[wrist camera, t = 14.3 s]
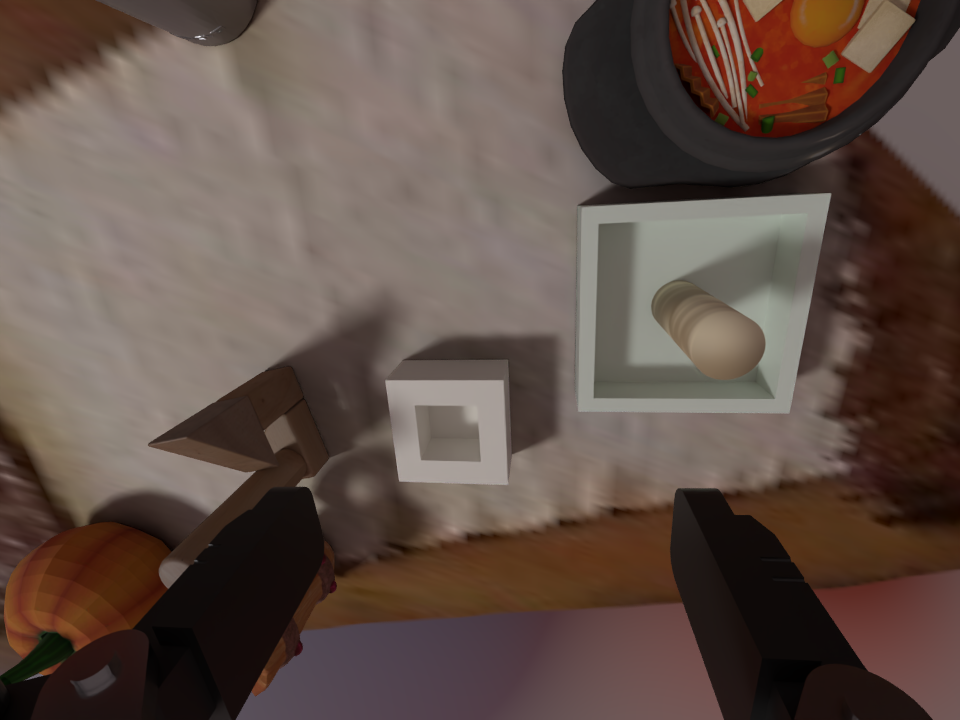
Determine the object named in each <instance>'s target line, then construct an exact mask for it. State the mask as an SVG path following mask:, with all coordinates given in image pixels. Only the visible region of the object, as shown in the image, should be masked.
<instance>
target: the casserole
mask: <svg viewBox="0 0 960 720" xmlns="http://www.w3.org/2000/svg"><path fill="white" fill-rule="evenodd" d="M959 28H960V0H596V1H595V2H594V3H593V4H592V5H591V7H590V8H589V9H588V10H587V11H586V12H585V13H584V14H583V15H582V16H581V17H580V18H579V19H578V20H577V21H576V22H575V25H574V27H573V29H572V32H571V34H570V36H569V39H568V41H567V43H566V46H565V53H564V62H563V70H562V74H563V89H564V100H565V104H566V109H567V113H568V117H569V121H570V125H571V128H572V130H573V132H574V134H575V136H576V138H577V140H578V142H579V145H580V147H581V149H582V151H583V152H584V153H585V155H586V156H587V157H588V159H589V160H590V162H591V163H592V164H593V166H594V167H595V168H596V169H597V170H598V171H599V172H600V173H601V174H602V175H604V176H605V177H606V178H607V179H608V180H609V181H611V182H612V183H615V184H618V185H621V186H624V187H627V188H630V189H632V188H641V187H650V186H660V185H669V184H678V183H681V184H694V185H706V186H719V187H738V186H746V185H753V184H760V183H763V182H766V181H769V180H772V179H775V178H778V177H782V176H785V175H787V174H789V173H791V172H793V171H795V170H797V169H799V168H801V167H803V166H805V165H807V164H809V163H810V162H812V161H814V160H817V159H820V158H822V157H824V156H826V155H827V154H829V153H831V152H833V151H835V150H837V149H839V148H841V147H843V146H845V145H847V144H849V143H850V142H851V141H853V140H854V139H855V138H857V137H858V136H859V135H861V134H862V133H864V132H865V131H866V130H868V129H869V128H870V127H872V126H873V125H875V124H876V123H877V122H878V121H879V120H880V119H881V118H882V117H883V116H884V115H885V114H886V113H887V112H888V111H889V110H890V109H891V108H892V107H893V106H894V105H895V104H896V103H897V102H898V101H899V100H900V99H901V98H902V97H903V96H904V95H905V93H906V92H907V91H908V89H909V88H910V87H911V85H912V84H913V83H914V81H915V80H916V79H917V77H918V76H919V75H920V74H921V72H922V71H923V70H924V68H925V67H926V65H927V63H928V62H929V61H930V60H931V59H932V58H934V57H935V56H936V55H937V54H939V53H940V52H941V51H942V50H943V49H945V47H946V46H947V45H948V43H949V42H950V40H951V39H952V37H953V36H954V35H955V33H956V32H957V31H958V29H959Z"/></svg>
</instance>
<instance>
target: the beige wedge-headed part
mask: <svg viewBox="0 0 960 720" xmlns="http://www.w3.org/2000/svg"><path fill="white" fill-rule="evenodd" d="M302 398H303V393H302V391H301V388H300V386H299V384H298V381H297V379H296V376H295V374H294V372H293V369H292V368H291V367H283V368H279V369H274V370H270V371H265V372H262V373H260V374H259V375H257V376H255V377H254V378H252V379H251V380H249V381H247V382H246V383H244V384H243V385H241V386H239V387H238V388H236V389H235V390H233V391H231V392H230V393H228V394H227V395H225V396H223V397H222V398H220V399H219V400H217V401H216V402H215V403H212V404H211V405H209V406H207V407H206V408H204V409H203V410H201V411H199V412H198V413H196V414H195V415H193V416H191V417H190V418H188V419H187V420H185V421H183V422H182V423H180V424H179V425H177V426H175V427H174V428H172V429H171V430H169V431H167V432H166V433H164V434H163V435H161V436H159V437H158V438H156V439H155V440H153V441H151V442H150V443H149V444H148V446H149V447H153V448H157V449H161V450H164V451H168V452H172V453H176V454H179V455H183V456H187V457H190V458H194V459H198V460H202V461H205V462H209V463H213V464H217V465H220V466H224V467H228V468H231V469H235V470H239V471H243V472H252V471H256V472H255V473H254V474H253V475H252V476H251V477H250V478H249V479H247V480H246V481H245V482H244V483H243V484H242V485H241V486H240V487H239V488H238V489H237V490H236V491H235V492H234V493H233V494H232V495H231V496H230V497H229V498H228V499H227V500H226V501H224V502H223V503H222V504H221V505H220V506H219V507H218V508H217V509H216V510H215V511H214V512H213V513H212V514H211V515H210V516H209V517H208V518H207V519H206V520H205V521H204V522H202V523H201V524H200V525H199V526H198V527H197V528H196V529H195V530H194V531H193V532H192V533H191V534H190V535H189V536H188V537H187V538H186V539H185V540H184V541H183V542H182V543H181V544H179V545H178V546H177V547H176V548H175V549H174V550H173V551H172V552H171V553H170V554H169V555H168V556H167V557H166V558H165V559H164V560H163V561H162V563H161V565H160V568H159V576H160V578H161V581H162V582H163V584H164V585H165V586H166V587H167V588H168V589H169V588H170V587H171V585H172V584H173V583H174V582H175V581H176V580H177V579H178V578H179V577H180V575H181V574H182V573H183V572H184V571H185V570H186V569H187V568H188V567H189V565H190V564H192V565H193V564H194V560H195V559H196V558H197V557H198V555H199V554H200V553H201V552H202V551H203V550H204V549H205V548H208V546H209V545H208V544H209V543H210V542H211V541H212V540H213V539H214V538H215V537H216V535H217V534H218V533H219V532H220V531H221V530H222V529H223V528H224V527H225V525H227V524H228V523H230V522H231V521H233V520H234V519H235V518H237V517H238V516H240V515H241V514H243V513H244V512H246V511H247V510H252V509H253V508H254V507H255V505H256V504H257V503H258V502H259V501H260V500H261V498H262V497H263V496H264V495H265V494H266V493H267V492H268V491H269V490H270V489H271V488H273V487H296V485H297V484H298V483H299V482H300V481H301V479H304V478H310V477H314V476H315V475H316V474H317V473H318V471H319V470H320V469H321V468H322V467H323V465H324V464H325V463H326V462H327V460H328V459H329V456H328V454H327V451H326V449H325V446H324V444H323V442H322V439H321V437H320V434H319V432H318V430H317V427H316V425H315V422H314V420H313V418H312V415H311V413H310V411H309V408H308V406H307V403H306V401H305V400H304V399H302ZM265 429H266V430H265ZM264 430H265V432H264Z"/></svg>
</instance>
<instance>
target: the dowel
mask: <svg viewBox="0 0 960 720" xmlns="http://www.w3.org/2000/svg"><path fill="white" fill-rule="evenodd" d="M651 311H652V315H653V317H654V319H655V320H656V321H657V322H658V323H659V325H660V326H661V327H662V328H663V329H664V330H665V331H666V333H667V334H668V335H669V336H670V337H671V338H672V339H673V341H674V342H675V343H676V344H677V345H678V346H679V347H680V348H681V350H682V351H683V352H684V353H685V354H686V355H687V356H688V358H689V359H690V360H691V361H692V362H693V363H694V364H695V366H696V367H697V368H698V369H699V370H700V371H701V372H702V373H703V374H705V375H706V376H708V377H711V378H714V379H719V380H730V379H735V378H738V377H741V376H743V375H745V374H747V373H748V372H750V371H751V370H752V369H753V368H755V367H756V365H757V364H758V363H759V362H760V360H761V358H762V357H763V354H764V351H765V346H766V341H765V335H764V333H763V331H762V329H761V327H760V326H759V325H758V324H757V323H756V322H754V321H753V320H751V319H750V318H748V317H746V316H745V315H743V314H742V313H740V312H738V311H737V310H735V309H733V308H732V307H730V306H728V305H727V304H725V303H724V302H722V301H720V300H719V299H717V298H715V297H714V296H712V295H710V294H709V293H707V292H706V291H704V290H702V289H701V288H699V287H697V286H696V285H694V284H693V283H690V282H688V281H683V280H677V281H672V282H669V283H667V284H665V285H663V286H662V287H661V288H660V289H659V290H658V291H657V292H656V293H655V295H654V297H653V299H652V303H651Z"/></svg>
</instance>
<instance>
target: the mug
mask: <svg viewBox="0 0 960 720" xmlns="http://www.w3.org/2000/svg"><path fill="white" fill-rule="evenodd" d="M334 569H335V559H334V552H333V550H332V548H331V546H330V545H329V544H328V543H327V542H326V541H325V540H324V556H323V561H322V564H321V566H320V569H319V571H318V572H317V574H316V576H315V578H314V580H313V581H312V583H311V585H310V587H309V589H308V590H307V592H306V594H305V596H304V598H303V599H302V601H301V603H300V605H299V607H298V608H297V610H296V612H295V614H294V616H293V617H292V619H291V621H290V623H289V625H288V626H287V628H286V630H285V632H284V634H283V635H282V637H281V639H280V641H279V643H278V644H277V646H276V648H275V650H274V652H273V653H272V655H271V657H270V659H269V661H268V662H267V664H266V666H265V668H264V670H263V671H262V673H261V675H260V677H259V679H258V680H257V682H256V684H255V686H254V688H253V689H252V693H253V694H254V695H255V696H257V695H258V694H260V693H261V692H263V691H264V690H265V689H266V688H267V687H268V686H269V685H270V683H271V682H272V680H273V678H274V676H275V675H276V673H277V671H278V670H279V669H280V668H282V667H284V666H285V665H286V664H288V662H289V661H290V660H291V659H292V658H293V657H294V656H297V655H299V654H300V653H301V651H302V649H303V646H302V643H301V641H300V633H301V632H302V630H303V627H304V625H305V623H306V621H307V619H308V618H309V616H310V614H311V612H312V610H313V608H314V607H315V605H316V604H318V603H320V602H322V601H323V600H324V599H325V598H326V596H327V595H328V594H329V593H333V592H334V591H336V587H337V585H336V582H335V576H334Z"/></svg>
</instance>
